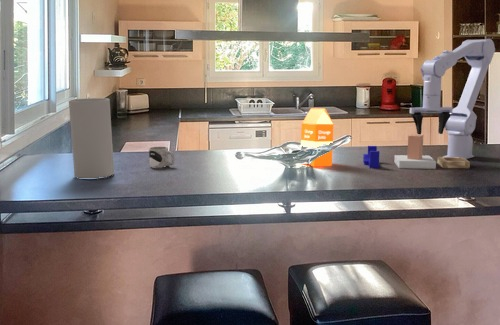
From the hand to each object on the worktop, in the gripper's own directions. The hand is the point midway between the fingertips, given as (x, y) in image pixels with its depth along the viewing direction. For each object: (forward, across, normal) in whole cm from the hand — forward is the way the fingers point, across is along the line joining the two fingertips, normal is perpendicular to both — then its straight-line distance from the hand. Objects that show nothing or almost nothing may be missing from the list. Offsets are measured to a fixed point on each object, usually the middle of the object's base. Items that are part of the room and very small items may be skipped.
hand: (429, 133), depth 189 cm
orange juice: (+11, +40, -1) cm, 41 cm away
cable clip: (+11, +21, +1) cm, 24 cm away
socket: (+10, -6, +6) cm, 13 cm away
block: (+8, +6, +4) cm, 11 cm away
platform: (+10, +6, +4) cm, 13 cm away
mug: (+11, +94, -4) cm, 95 cm away
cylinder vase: (+11, +115, +10) cm, 116 cm away
